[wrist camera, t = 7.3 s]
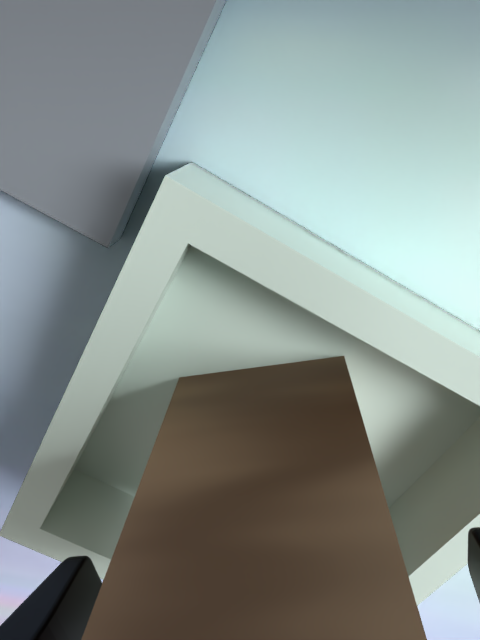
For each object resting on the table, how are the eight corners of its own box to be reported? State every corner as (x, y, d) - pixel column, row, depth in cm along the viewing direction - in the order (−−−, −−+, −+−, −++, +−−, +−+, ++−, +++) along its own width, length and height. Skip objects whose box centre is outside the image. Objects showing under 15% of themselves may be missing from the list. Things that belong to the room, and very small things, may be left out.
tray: (191, 161, 9) (165, 175, 7) (546, 370, 11) (619, 437, 8) (46, 462, 13) (-2, 535, 11) (323, 588, 14) (331, 676, 12)
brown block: (343, 355, 10) (452, 730, 4) (358, 485, 12) (453, 904, 6) (179, 377, 11) (45, 735, 5) (213, 498, 13) (149, 891, 6)
